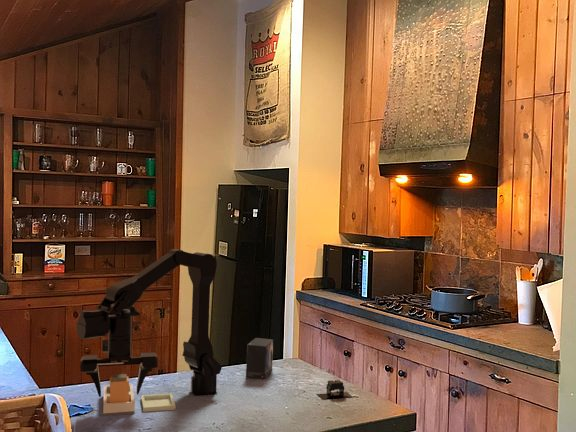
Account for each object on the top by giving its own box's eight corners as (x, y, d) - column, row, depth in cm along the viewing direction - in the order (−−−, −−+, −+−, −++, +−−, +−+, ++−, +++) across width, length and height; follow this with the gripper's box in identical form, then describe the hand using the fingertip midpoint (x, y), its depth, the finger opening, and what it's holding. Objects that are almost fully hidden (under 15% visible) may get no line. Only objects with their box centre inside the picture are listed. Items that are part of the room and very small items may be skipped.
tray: (171, 399, 166) (171, 393, 166) (175, 411, 157) (175, 405, 157) (141, 401, 164) (141, 395, 164) (143, 413, 154) (143, 407, 154)
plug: (128, 409, 154) (129, 378, 154) (109, 410, 152) (110, 379, 152) (127, 403, 158) (128, 373, 158) (109, 405, 157) (110, 374, 157)
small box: (265, 379, 187) (266, 345, 187) (245, 378, 188) (245, 344, 188) (273, 370, 197) (274, 338, 197) (253, 369, 199) (254, 337, 199)
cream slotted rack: (132, 396, 168) (132, 374, 168) (134, 415, 153) (134, 391, 153) (103, 398, 166) (104, 375, 166) (103, 418, 151) (103, 393, 150)
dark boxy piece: (350, 392, 178) (350, 377, 178) (360, 400, 171) (361, 384, 171) (310, 395, 174) (310, 379, 174) (318, 403, 167) (319, 387, 167)
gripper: (154, 326, 165) (153, 384, 166) (82, 329, 160) (81, 388, 160) (158, 335, 155) (157, 396, 155) (80, 338, 149) (79, 401, 150)
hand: (118, 395), depth 155 cm, fingers open, 9 cm apart
